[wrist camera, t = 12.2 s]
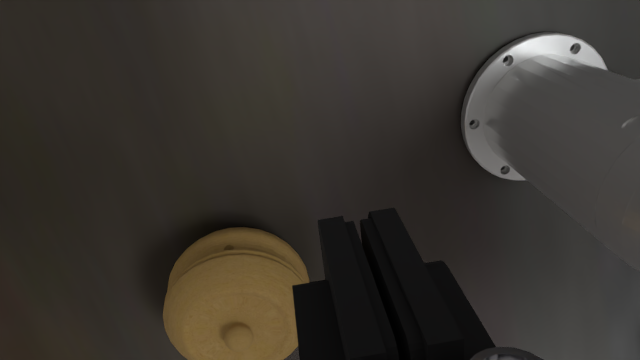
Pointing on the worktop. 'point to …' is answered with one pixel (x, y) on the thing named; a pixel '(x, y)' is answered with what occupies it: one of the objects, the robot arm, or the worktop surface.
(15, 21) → the worktop surface
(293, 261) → the pot
